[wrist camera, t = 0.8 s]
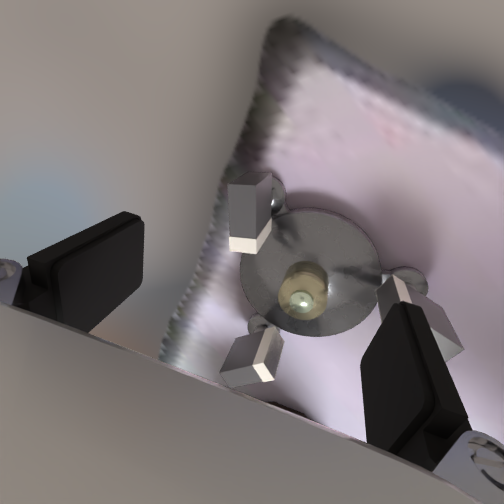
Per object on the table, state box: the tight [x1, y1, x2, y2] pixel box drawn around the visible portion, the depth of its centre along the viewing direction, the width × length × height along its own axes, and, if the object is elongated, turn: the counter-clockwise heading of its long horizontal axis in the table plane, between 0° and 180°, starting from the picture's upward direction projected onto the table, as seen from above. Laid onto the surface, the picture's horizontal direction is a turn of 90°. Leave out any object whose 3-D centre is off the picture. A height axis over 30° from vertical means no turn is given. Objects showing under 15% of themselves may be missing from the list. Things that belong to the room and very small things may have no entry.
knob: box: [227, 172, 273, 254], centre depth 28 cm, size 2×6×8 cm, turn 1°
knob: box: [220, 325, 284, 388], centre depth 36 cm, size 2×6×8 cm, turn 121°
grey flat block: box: [376, 274, 464, 362], centre depth 28 cm, size 2×6×8 cm, turn 61°
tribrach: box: [240, 176, 428, 337], centre depth 32 cm, size 21×23×7 cm
